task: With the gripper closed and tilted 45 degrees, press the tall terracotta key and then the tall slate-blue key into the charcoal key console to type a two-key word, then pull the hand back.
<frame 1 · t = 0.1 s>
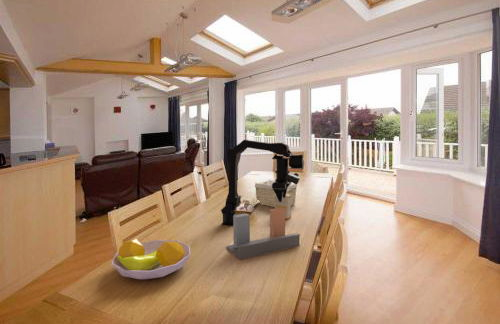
hand: (282, 199, 145), 15 cm above the table, tool pointing down, fingers open, 9 cm apart
slate key: (241, 230, 122), point 8 cm above the table, slide at 0.0 cm
supplement box: (282, 217, 165), on the table
storage basket: (275, 204, 193), on the table
fruit bowl: (151, 270, 104), on the table
terracotta key: (277, 223, 130), point 8 cm above the table, slide at 0.0 cm
key console: (260, 244, 126), on the table
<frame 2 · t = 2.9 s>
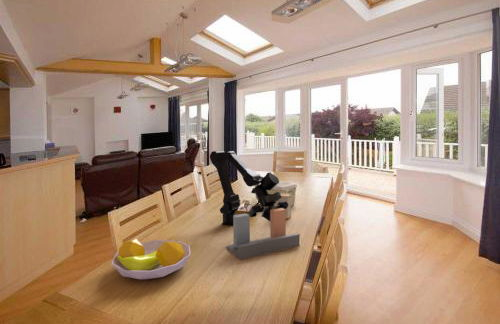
hand: (275, 225, 131), 7 cm above the table, tool tilted 45°, fingers closed, pressing on terracotta key
terracotta key: (277, 224, 129), point 8 cm above the table, slide at 0.4 cm, touching gripper
everything else where it was.
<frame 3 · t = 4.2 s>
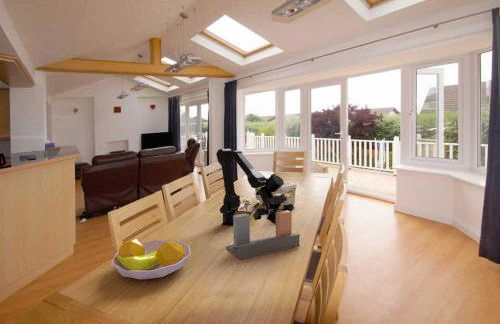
hand: (281, 228, 127), 7 cm above the table, tool tilted 45°, fingers closed, pressing on terracotta key
terracotta key: (283, 226, 125), point 8 cm above the table, slide at 4.8 cm, touching gripper
everything else where it was.
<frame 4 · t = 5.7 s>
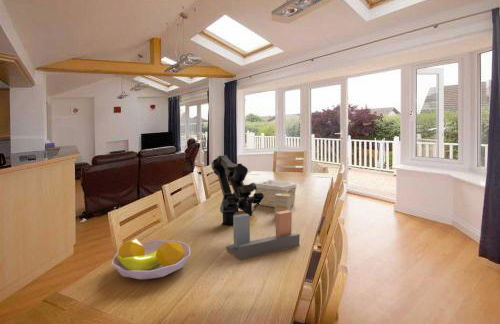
hand: (250, 216, 131), 11 cm above the table, tool tilted 45°, fingers closed
terracotta key: (283, 226, 125), point 8 cm above the table, slide at 4.8 cm
everything else where it was.
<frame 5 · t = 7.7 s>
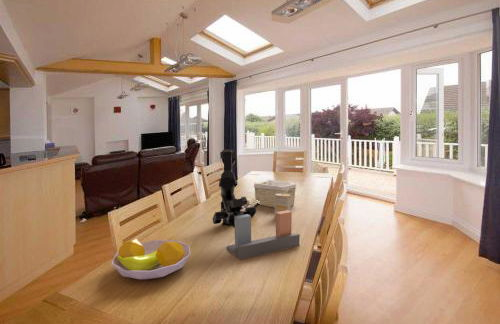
hand: (240, 232, 122), 7 cm above the table, tool tilted 45°, fingers closed, pressing on slate key
slate key: (242, 231, 120), point 8 cm above the table, slide at 1.3 cm, touching gripper
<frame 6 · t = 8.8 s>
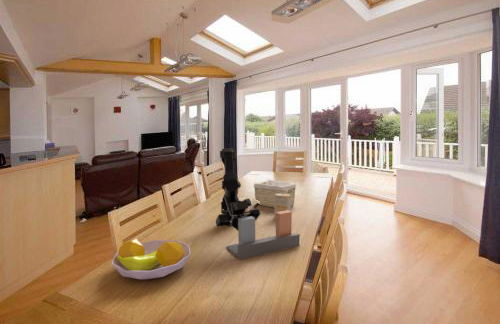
hand: (244, 235, 119), 7 cm above the table, tool tilted 45°, fingers closed, pressing on slate key
slate key: (246, 234, 117), point 8 cm above the table, slide at 4.8 cm, touching gripper
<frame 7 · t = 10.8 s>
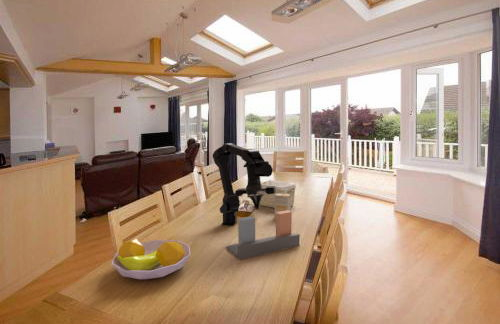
hand: (257, 209, 138), 12 cm above the table, tool pointing down, fingers closed
slate key: (246, 234, 117), point 8 cm above the table, slide at 4.8 cm
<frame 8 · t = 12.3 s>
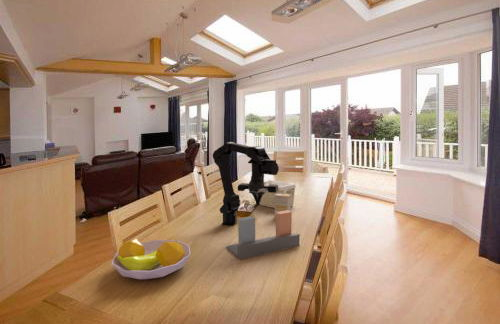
hand: (258, 205, 141), 13 cm above the table, tool pointing down, fingers closed
at the end: terracotta key slide at 4.8 cm; slate key slide at 4.8 cm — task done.
